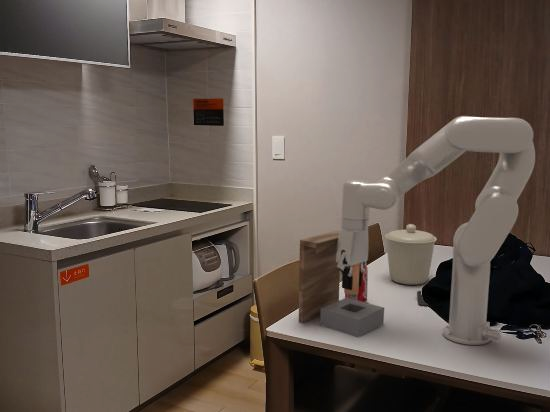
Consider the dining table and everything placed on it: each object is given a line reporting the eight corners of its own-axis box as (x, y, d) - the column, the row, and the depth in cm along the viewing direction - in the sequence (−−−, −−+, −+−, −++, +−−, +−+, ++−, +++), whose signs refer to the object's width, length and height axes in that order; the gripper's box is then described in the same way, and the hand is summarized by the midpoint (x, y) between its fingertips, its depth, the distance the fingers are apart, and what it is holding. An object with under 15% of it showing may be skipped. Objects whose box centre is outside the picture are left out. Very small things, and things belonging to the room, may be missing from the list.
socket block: (383, 324, 162) (384, 307, 161) (358, 337, 152) (359, 319, 151) (346, 313, 170) (346, 297, 169) (320, 325, 161) (320, 308, 160)
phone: (439, 292, 190) (442, 306, 176) (439, 294, 190) (442, 309, 176) (416, 290, 192) (418, 304, 177) (416, 292, 192) (417, 306, 177)
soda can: (366, 306, 176) (367, 266, 174) (343, 305, 177) (344, 265, 175) (367, 299, 183) (368, 261, 181) (345, 298, 184) (346, 259, 182)
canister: (444, 285, 199) (448, 227, 195) (401, 291, 192) (404, 230, 189) (414, 272, 215) (417, 218, 212) (373, 276, 209) (375, 221, 205)
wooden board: (352, 311, 172) (354, 233, 168) (316, 327, 158) (318, 243, 154) (334, 306, 176) (336, 230, 172) (298, 322, 163) (299, 239, 159)
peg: (349, 289, 162) (350, 259, 161) (361, 292, 160) (362, 261, 158) (341, 292, 160) (342, 261, 158) (353, 295, 157) (354, 264, 155)
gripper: (360, 218, 165) (356, 278, 168) (326, 226, 153) (323, 290, 156) (382, 222, 160) (378, 283, 163) (349, 230, 148) (345, 296, 151)
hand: (351, 286), depth 159 cm, fingers closed on peg, 4 cm apart
